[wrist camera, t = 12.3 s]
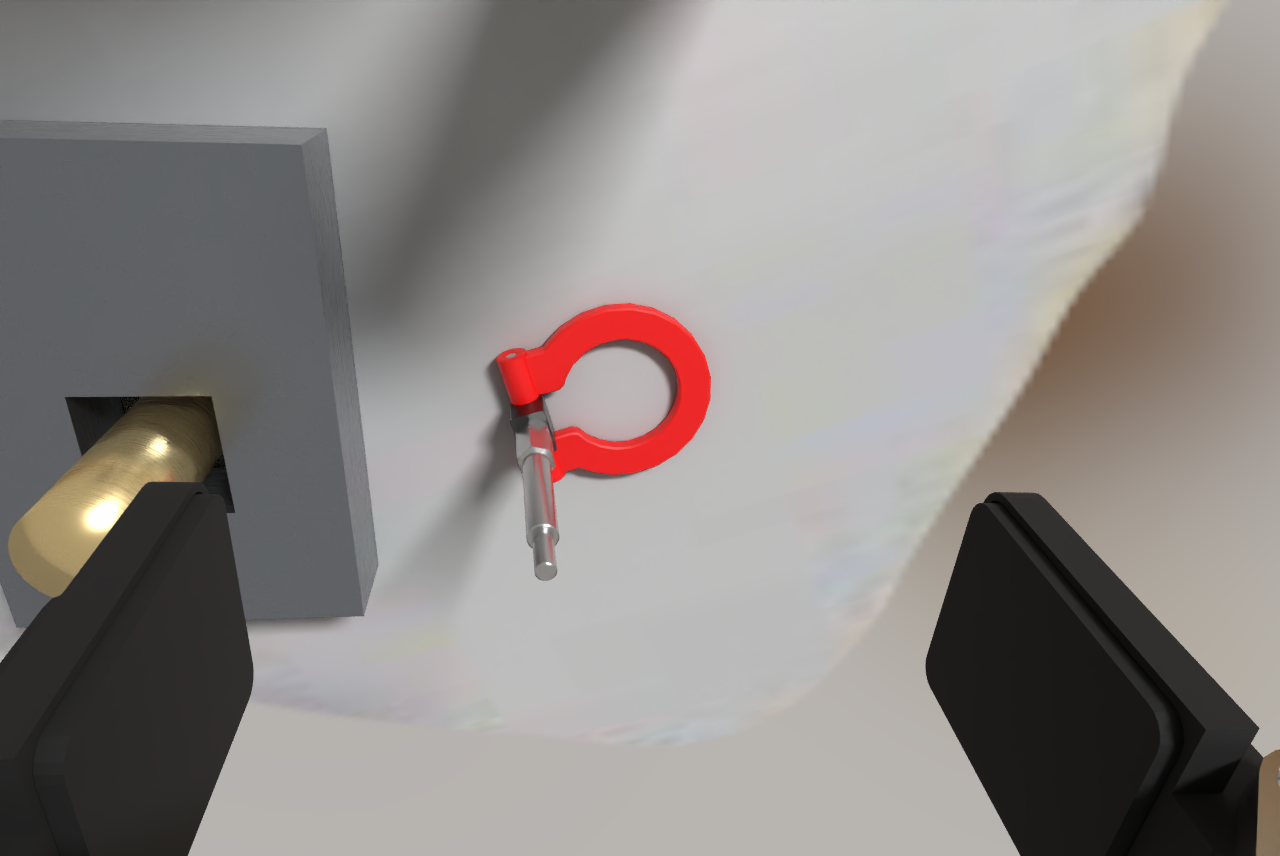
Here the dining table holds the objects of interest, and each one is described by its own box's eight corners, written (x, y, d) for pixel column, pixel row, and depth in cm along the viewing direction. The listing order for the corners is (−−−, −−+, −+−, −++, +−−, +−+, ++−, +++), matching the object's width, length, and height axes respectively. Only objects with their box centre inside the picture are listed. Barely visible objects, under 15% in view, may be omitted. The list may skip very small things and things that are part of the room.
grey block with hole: (-86, 118, 33) (-163, 133, 29) (326, 128, 34) (301, 144, 31) (61, 573, 42) (16, 627, 38) (378, 564, 44) (363, 616, 40)
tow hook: (685, 278, 39) (487, 334, 39) (765, 396, 28) (484, 476, 27) (720, 437, 43) (540, 488, 43) (802, 597, 32) (557, 668, 31)
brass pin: (135, 373, 38) (-8, 507, 28) (230, 373, 38) (122, 505, 29) (154, 453, 40) (26, 605, 30) (245, 452, 40) (148, 602, 30)
